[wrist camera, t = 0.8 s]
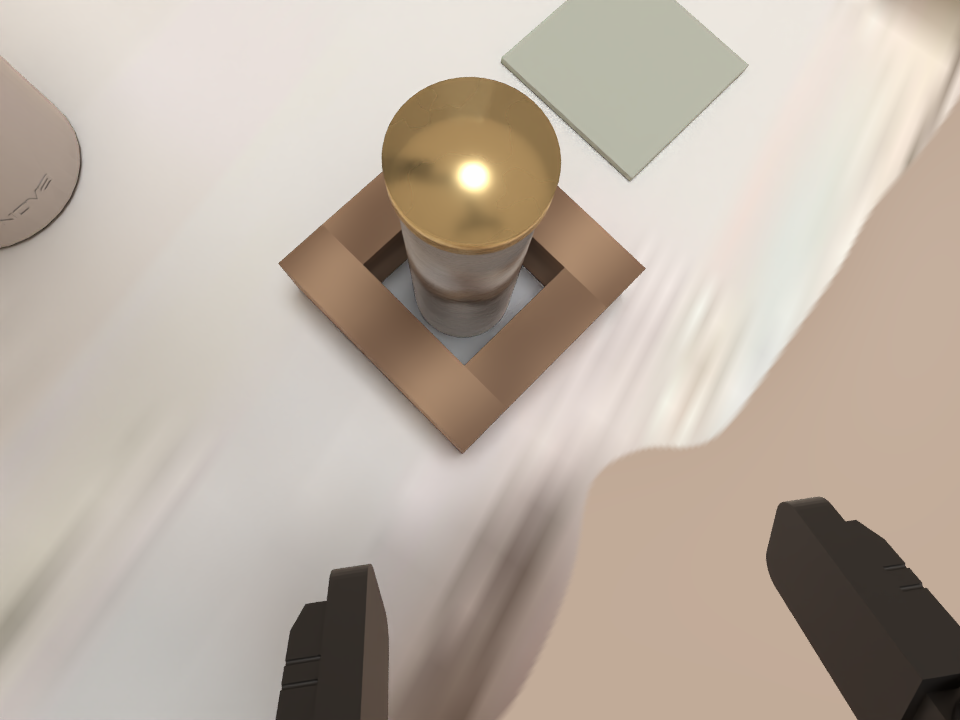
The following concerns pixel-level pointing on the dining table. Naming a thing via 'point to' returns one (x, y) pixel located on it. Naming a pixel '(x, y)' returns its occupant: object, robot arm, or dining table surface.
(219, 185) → the dining table surface
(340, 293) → the housing
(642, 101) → the pad
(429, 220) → the grey upright cylinder
